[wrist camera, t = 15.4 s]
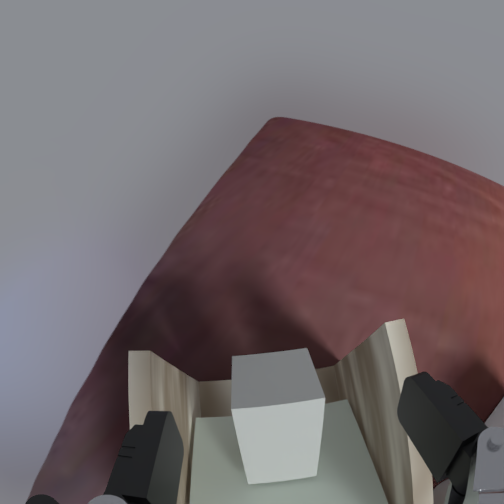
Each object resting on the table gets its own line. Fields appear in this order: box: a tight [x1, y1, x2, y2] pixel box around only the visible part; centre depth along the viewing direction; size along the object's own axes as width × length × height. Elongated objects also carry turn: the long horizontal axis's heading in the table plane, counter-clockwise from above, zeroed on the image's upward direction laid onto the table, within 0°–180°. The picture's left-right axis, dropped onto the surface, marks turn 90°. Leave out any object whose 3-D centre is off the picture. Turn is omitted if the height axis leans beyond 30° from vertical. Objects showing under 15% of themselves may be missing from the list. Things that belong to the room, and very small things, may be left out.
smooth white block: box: [231, 348, 325, 484], centre depth 17 cm, size 5×5×9 cm
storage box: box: [128, 319, 433, 504], centre depth 17 cm, size 18×24×16 cm
